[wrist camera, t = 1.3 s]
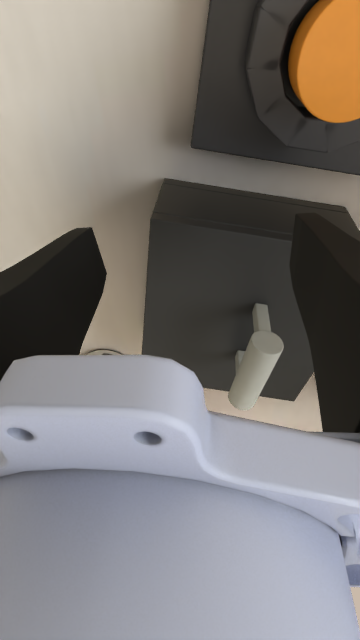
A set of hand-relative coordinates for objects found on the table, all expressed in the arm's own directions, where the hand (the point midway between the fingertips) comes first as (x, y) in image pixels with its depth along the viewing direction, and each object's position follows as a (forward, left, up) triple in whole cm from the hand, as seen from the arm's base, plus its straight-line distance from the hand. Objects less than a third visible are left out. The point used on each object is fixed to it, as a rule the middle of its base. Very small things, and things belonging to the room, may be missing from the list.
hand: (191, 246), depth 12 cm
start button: (-4, -6, -5) cm, 9 cm away
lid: (-4, +7, -4) cm, 9 cm away
